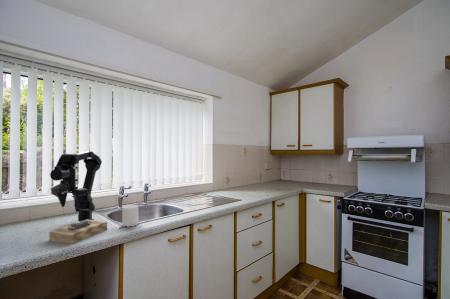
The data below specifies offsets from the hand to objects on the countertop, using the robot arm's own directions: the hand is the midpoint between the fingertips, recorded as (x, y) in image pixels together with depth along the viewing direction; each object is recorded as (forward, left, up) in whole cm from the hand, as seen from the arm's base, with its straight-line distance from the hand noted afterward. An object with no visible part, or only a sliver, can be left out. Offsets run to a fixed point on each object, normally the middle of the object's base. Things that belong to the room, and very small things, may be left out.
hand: (69, 207), depth 124 cm
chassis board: (+3, +11, -12) cm, 16 cm away
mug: (-18, +23, -12) cm, 31 cm away
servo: (+3, +11, -12) cm, 16 cm away
